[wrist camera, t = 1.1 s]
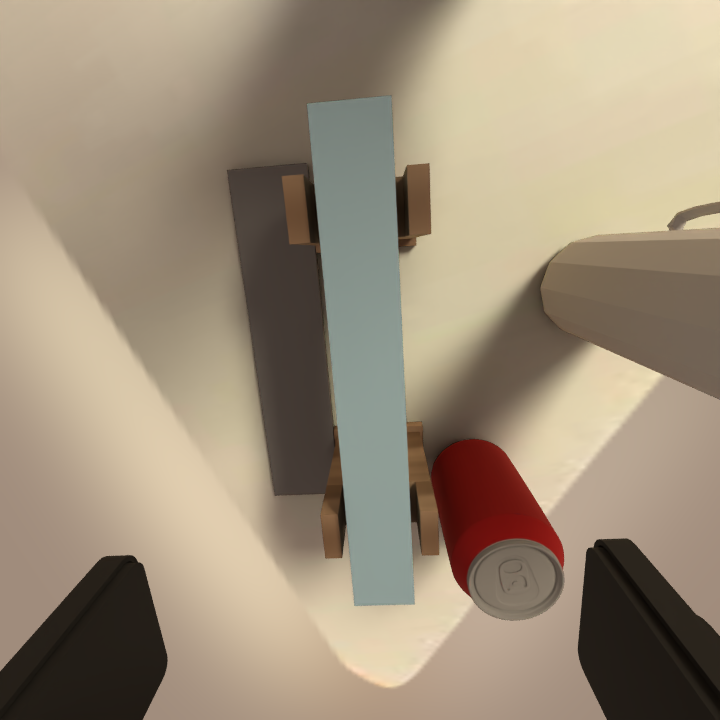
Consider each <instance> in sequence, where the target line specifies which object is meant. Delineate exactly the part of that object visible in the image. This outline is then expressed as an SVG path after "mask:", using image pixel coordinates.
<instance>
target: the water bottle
mask: <svg viewBox="0 0 720 720" xmlns="http://www.w3.org/2000/svg"><path fill="white" fill-rule="evenodd" d="M716 213H720V202H715V203H710V204H706V205H701V206H696V207H692V208H689V209H687V210H684V211H681V212H678V213H677V214H676V215H675V216H674V218H673V219H672V220H671V222H670V223H669V224H668V225H667V227H668V228H669V230H670V231H657V232H640V233H623V234H606V235H596V236H592V237H589V238H585V239H582V240H578V241H574V242H571V243H570V244H568V245H567V246H566V247H565V248H564V249H563V250H562V251H561V252H560V253H559V254H558V255H557V256H556V257H554V258H553V259H552V260H551V261H550V262H549V265H548V268H547V270H546V273H545V276H544V279H543V281H542V284H541V287H540V289H541V295H542V301H543V307H544V312H545V313H546V314H547V315H548V316H549V317H550V318H551V320H552V321H553V322H554V323H555V324H556V325H557V326H558V327H559V328H560V329H561V330H563V331H566V332H568V333H570V334H573V335H575V336H577V337H579V338H582V339H584V340H586V341H588V342H591V343H593V344H595V345H597V346H600V347H602V348H604V349H606V350H609V351H611V352H613V353H615V354H618V355H620V356H622V357H624V358H627V359H629V360H631V361H634V362H636V363H638V364H640V365H643V366H645V367H647V368H649V369H652V370H654V371H656V372H658V373H661V374H663V375H665V376H667V377H670V378H672V379H674V380H677V381H679V382H681V383H683V384H686V385H688V386H690V387H692V388H695V389H697V390H699V391H701V392H704V393H706V394H708V395H710V396H713V397H715V398H717V399H719V400H720V228H708V229H691V230H683V228H684V226H685V224H686V221H689V220H692V219H694V218H697V217H700V216H705V215H710V214H716Z"/></svg>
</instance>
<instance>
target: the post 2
mask: <svg viewBox="0 0 720 720" xmlns="http://www.w3.org/2000/svg"><path fill="white" fill-rule="evenodd" d="M406 426H407V447H408V469H409V491H410V513H411V522H417V526H418V532H419V539H420V546H421V553H422V555H439V533H438V509H437V504H436V500H435V496H434V491H433V487H432V483H431V479H430V474H429V470H428V466H427V461H426V457H425V453H424V448H423V426H422V422H406ZM334 438H335V449H334V454H333V458H332V463H331V468H330V472H329V477H328V482H327V487H326V491H325V496H324V501H323V506H322V510H321V524H322V533H323V541H324V550H325V558H342V555H343V546H344V537H345V528H346V524H347V521H346V511H345V500H344V489H343V479H342V468H341V458H340V447H339V437H338V426H335V427H334Z"/></svg>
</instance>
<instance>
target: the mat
mask: <svg viewBox="0 0 720 720" xmlns="http://www.w3.org/2000/svg"><path fill="white" fill-rule="evenodd" d="M227 173H228V179H229V186H230V193H231V200H232V207H233V213H234V220H235V227H236V234H237V241H238V247H239V254H240V261H241V268H242V275H243V281H244V288H245V295H246V302H247V309H248V316H249V322H250V329H251V336H252V343H253V350H254V356H255V363H256V370H257V377H258V384H259V390H260V397H261V404H262V411H263V418H264V424H265V431H266V438H267V445H268V452H269V458H270V465H271V472H272V479H273V486H274V492H275V496H277V495H302V494H325V491H326V487H327V482H328V477H329V472H330V468H331V463H332V458H333V454H334V449H335V438H334V426H333V415H332V405H331V395H330V385H329V374H328V364H327V354H326V344H325V334H324V323H323V313H322V303H321V293H320V282H319V272H318V262H317V253H316V245H293V244H289V235H288V227H287V218H286V209H285V200H284V192H283V183H282V176H290V175H302V174H304V175H305V176H306V177H307V178H308V179H309V170H308V164H307V163H302V164H291V165H280V166H269V167H257V168H246V169H235V170H227Z"/></svg>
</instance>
